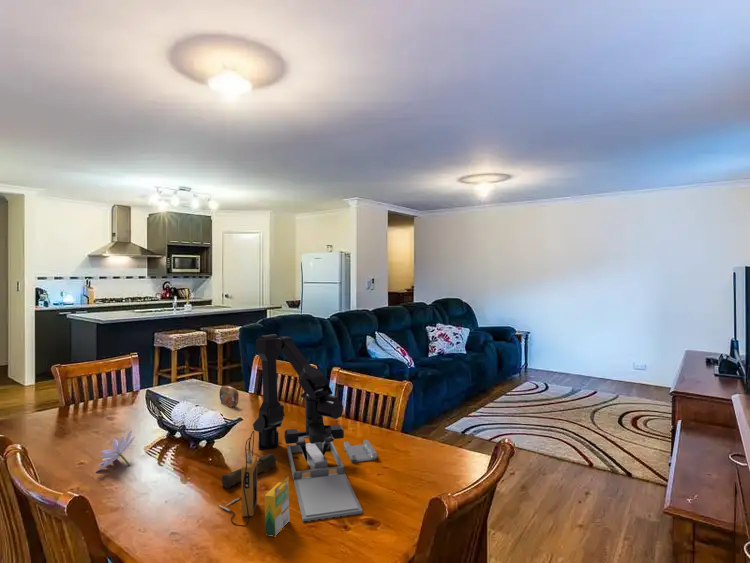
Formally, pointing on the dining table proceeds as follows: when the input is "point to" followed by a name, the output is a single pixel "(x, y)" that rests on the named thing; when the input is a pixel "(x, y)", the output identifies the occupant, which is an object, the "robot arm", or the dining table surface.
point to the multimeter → (248, 484)
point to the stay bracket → (360, 452)
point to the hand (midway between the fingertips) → (314, 459)
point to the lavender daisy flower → (116, 451)
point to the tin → (229, 396)
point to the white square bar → (315, 457)
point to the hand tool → (262, 466)
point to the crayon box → (277, 508)
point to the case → (323, 489)
